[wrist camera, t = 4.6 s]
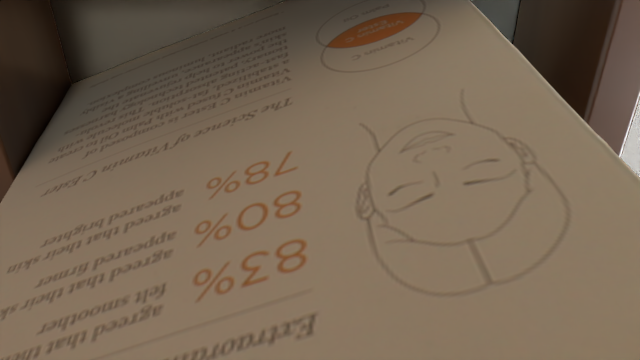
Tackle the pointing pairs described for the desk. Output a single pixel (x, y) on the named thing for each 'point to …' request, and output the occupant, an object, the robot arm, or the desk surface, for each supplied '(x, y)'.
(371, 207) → the small box
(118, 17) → the desk surface
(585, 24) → the organiser
